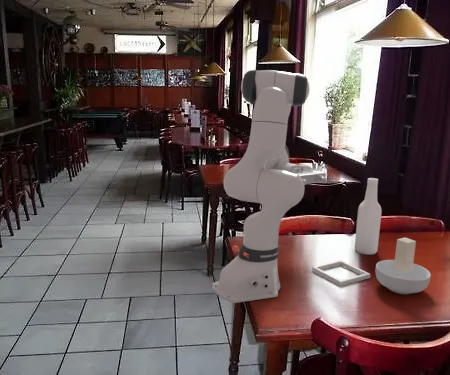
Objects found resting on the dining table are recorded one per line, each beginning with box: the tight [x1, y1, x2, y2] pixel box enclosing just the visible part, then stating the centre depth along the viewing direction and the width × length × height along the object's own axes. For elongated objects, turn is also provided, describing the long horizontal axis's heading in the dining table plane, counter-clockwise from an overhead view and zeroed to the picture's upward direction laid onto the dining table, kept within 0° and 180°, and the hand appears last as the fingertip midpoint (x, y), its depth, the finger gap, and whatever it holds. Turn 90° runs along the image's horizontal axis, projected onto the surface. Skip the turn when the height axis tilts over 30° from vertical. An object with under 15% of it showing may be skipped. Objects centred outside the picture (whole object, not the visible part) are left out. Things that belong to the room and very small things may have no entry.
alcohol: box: [354, 177, 383, 256], centre depth 173 cm, size 9×9×30 cm
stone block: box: [394, 237, 417, 273], centre depth 140 cm, size 4×4×10 cm
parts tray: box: [311, 259, 371, 287], centre depth 153 cm, size 14×14×2 cm
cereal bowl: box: [374, 259, 432, 295], centre depth 143 cm, size 17×17×7 cm
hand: (315, 181), depth 162 cm, fingers open, 8 cm apart
